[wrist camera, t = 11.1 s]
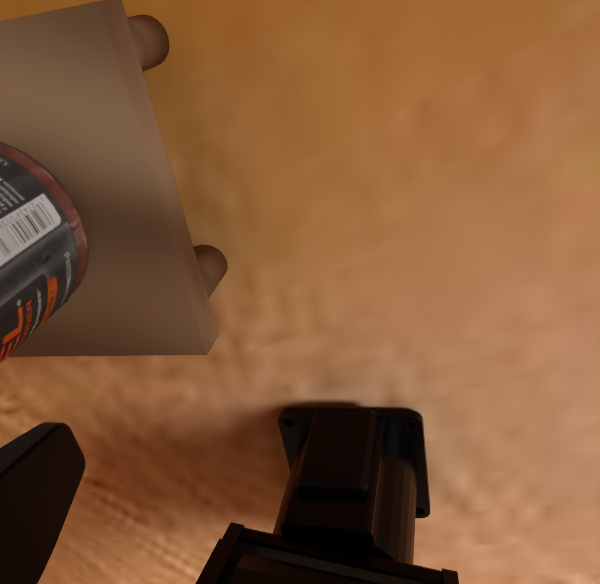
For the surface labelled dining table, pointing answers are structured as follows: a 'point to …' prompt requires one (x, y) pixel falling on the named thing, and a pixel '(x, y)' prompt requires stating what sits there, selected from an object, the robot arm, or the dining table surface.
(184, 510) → the dining table surface
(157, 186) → the footstool
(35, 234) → the supplement bottle
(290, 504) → the robot arm
